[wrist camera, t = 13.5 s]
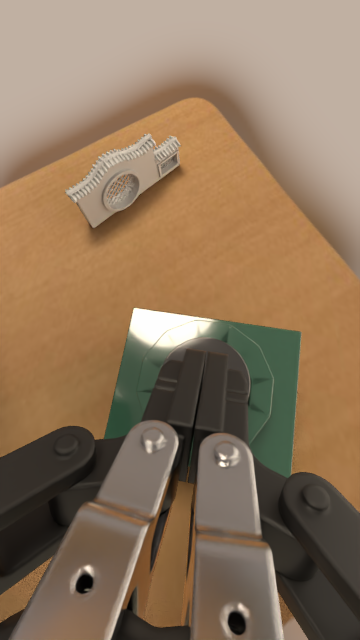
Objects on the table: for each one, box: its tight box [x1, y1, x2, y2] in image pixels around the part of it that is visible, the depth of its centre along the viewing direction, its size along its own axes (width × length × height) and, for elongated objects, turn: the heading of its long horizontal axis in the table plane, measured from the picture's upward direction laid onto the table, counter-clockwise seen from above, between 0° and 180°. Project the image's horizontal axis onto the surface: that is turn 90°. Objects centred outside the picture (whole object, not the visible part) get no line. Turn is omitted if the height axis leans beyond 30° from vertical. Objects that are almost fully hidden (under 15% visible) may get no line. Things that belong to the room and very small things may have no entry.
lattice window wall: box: [65, 134, 181, 228], centre depth 30 cm, size 12×2×6 cm, turn 130°
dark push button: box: [162, 337, 251, 398], centre depth 16 cm, size 4×4×2 cm
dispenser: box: [104, 308, 301, 478], centre depth 22 cm, size 11×9×10 cm
